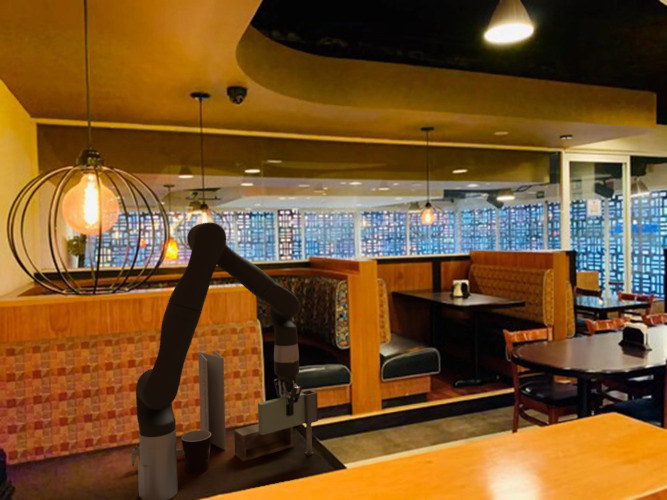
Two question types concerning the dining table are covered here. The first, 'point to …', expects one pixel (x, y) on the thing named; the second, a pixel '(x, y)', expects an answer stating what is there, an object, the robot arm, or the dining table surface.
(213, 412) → the brochure
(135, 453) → the caliper
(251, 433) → the cabinet
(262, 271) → the robot arm
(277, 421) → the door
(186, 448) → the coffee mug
